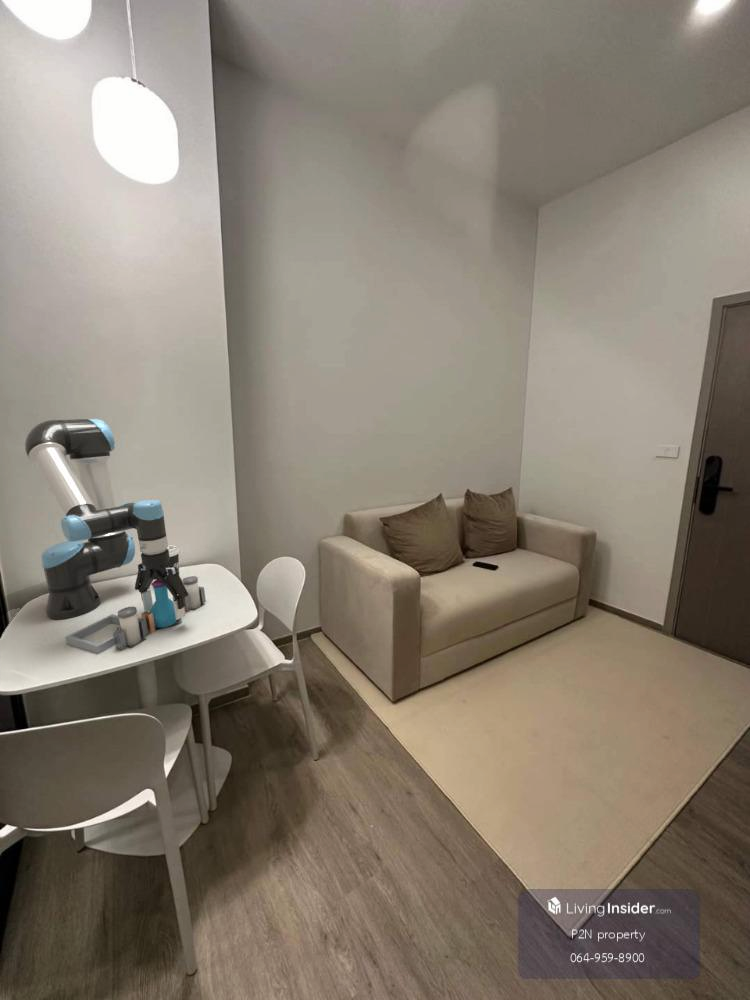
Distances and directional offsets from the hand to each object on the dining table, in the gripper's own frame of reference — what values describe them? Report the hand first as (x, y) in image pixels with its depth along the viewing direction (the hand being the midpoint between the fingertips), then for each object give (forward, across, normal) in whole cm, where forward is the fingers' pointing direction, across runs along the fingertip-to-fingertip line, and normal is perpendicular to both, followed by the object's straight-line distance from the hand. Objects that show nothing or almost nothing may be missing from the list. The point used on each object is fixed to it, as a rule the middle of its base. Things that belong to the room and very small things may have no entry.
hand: (164, 613), depth 126 cm
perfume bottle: (+4, 0, 0) cm, 4 cm away
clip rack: (+4, 0, 0) cm, 4 cm away
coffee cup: (+4, -24, +23) cm, 33 cm away
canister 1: (+3, 0, -12) cm, 12 cm away
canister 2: (+3, 0, +12) cm, 12 cm away
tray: (+4, -10, -12) cm, 16 cm away
